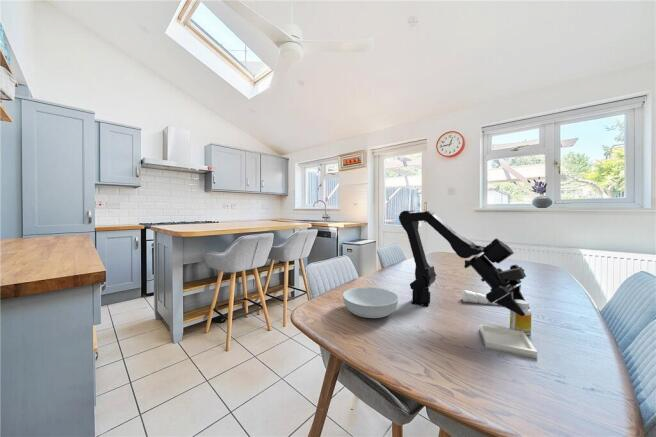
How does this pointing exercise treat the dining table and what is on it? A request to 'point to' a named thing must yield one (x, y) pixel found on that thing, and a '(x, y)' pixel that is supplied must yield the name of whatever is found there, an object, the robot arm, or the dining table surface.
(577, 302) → the dining table surface
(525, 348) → the dish
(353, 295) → the serving bowl
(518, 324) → the supplement bottle
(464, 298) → the unicorn horn
